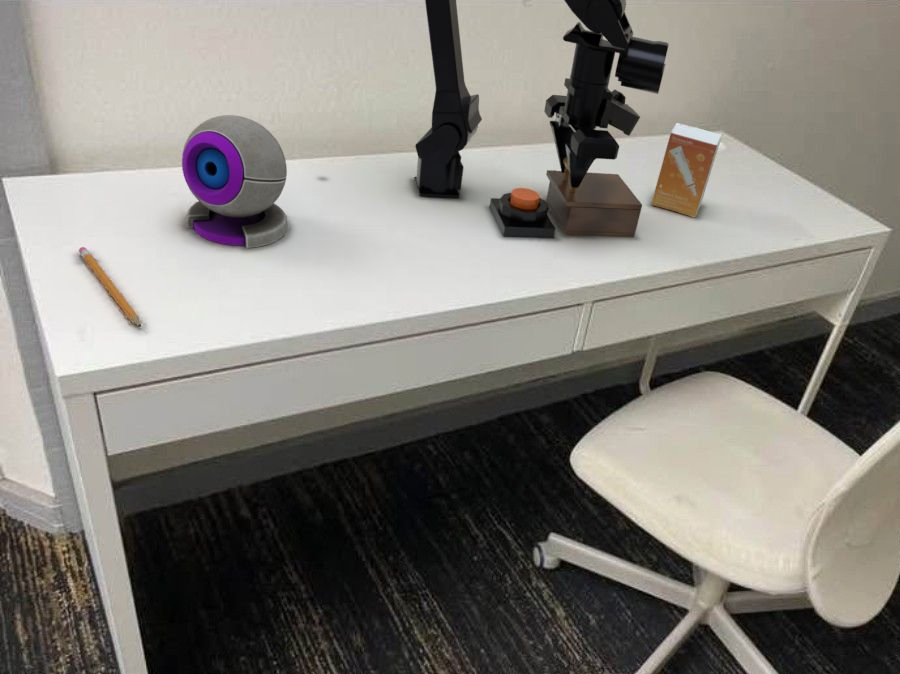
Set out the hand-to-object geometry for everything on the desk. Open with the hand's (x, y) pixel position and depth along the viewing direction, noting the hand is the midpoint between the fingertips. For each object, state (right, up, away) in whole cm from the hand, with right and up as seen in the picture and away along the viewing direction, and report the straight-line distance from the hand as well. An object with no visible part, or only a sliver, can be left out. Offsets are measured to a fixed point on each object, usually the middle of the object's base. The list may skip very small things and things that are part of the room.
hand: (569, 180), depth 132 cm
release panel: (-8, -7, 0) cm, 10 cm away
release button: (-7, -4, -2) cm, 8 cm away
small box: (+19, 0, +16) cm, 25 cm away
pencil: (-55, -22, -33) cm, 68 cm away
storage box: (+3, -5, +5) cm, 8 cm away
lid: (+4, -1, +2) cm, 5 cm away
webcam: (-46, -10, -15) cm, 50 cm away
